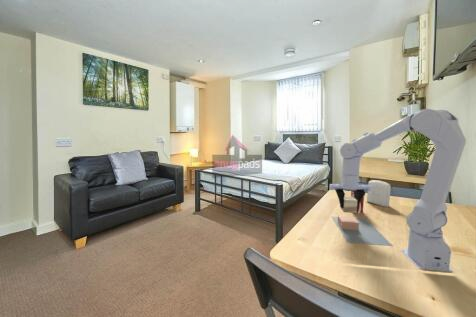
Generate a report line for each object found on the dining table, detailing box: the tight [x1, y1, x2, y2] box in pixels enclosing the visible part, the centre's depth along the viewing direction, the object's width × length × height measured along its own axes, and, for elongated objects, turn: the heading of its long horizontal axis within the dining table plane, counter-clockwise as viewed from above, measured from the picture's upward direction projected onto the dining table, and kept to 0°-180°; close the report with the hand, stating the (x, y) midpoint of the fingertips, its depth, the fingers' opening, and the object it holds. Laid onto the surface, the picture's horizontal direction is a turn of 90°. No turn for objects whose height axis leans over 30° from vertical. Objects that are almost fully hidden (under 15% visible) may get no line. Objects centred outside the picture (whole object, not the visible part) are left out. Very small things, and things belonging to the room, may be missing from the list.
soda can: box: [350, 190, 365, 214], centre depth 98 cm, size 5×5×12 cm
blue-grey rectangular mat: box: [331, 216, 393, 247], centre depth 81 cm, size 22×14×1 cm, turn 169°
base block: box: [337, 215, 359, 230], centre depth 83 cm, size 6×6×3 cm
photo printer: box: [366, 179, 392, 208], centre depth 109 cm, size 10×4×12 cm, turn 28°
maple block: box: [340, 195, 357, 214], centre depth 82 cm, size 4×4×5 cm
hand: (348, 207), depth 83 cm, fingers closed on maple block, 4 cm apart
